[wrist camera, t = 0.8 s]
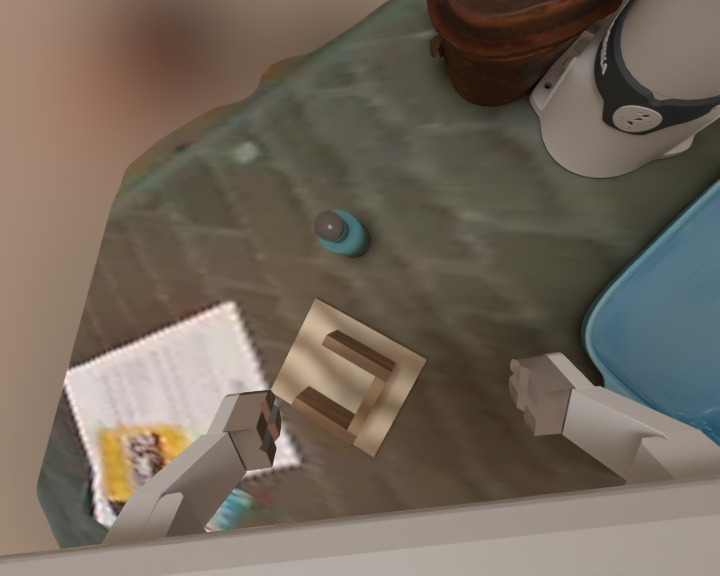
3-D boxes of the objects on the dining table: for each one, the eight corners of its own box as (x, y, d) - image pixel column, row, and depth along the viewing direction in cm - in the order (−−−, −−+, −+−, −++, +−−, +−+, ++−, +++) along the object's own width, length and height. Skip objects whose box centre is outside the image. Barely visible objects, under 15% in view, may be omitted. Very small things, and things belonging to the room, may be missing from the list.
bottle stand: (318, 297, 47) (302, 299, 42) (426, 358, 44) (426, 369, 38) (273, 389, 49) (252, 403, 43) (374, 453, 46) (367, 478, 40)
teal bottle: (346, 217, 46) (318, 195, 35) (376, 232, 45) (358, 214, 34) (331, 248, 47) (299, 236, 35) (360, 263, 46) (337, 256, 34)
